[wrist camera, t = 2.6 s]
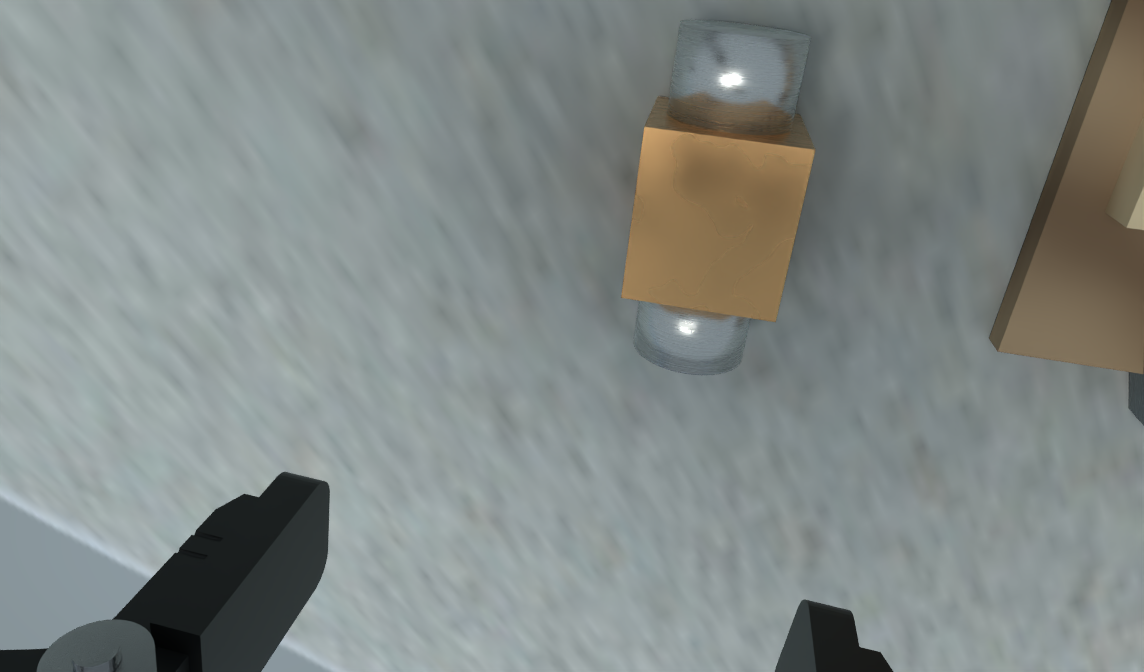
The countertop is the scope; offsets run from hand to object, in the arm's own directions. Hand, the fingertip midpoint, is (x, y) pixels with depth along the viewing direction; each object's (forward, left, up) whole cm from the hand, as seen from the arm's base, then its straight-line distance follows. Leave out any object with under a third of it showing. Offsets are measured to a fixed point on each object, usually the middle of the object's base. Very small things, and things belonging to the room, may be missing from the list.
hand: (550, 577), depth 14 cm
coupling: (-3, +2, -17) cm, 17 cm away
